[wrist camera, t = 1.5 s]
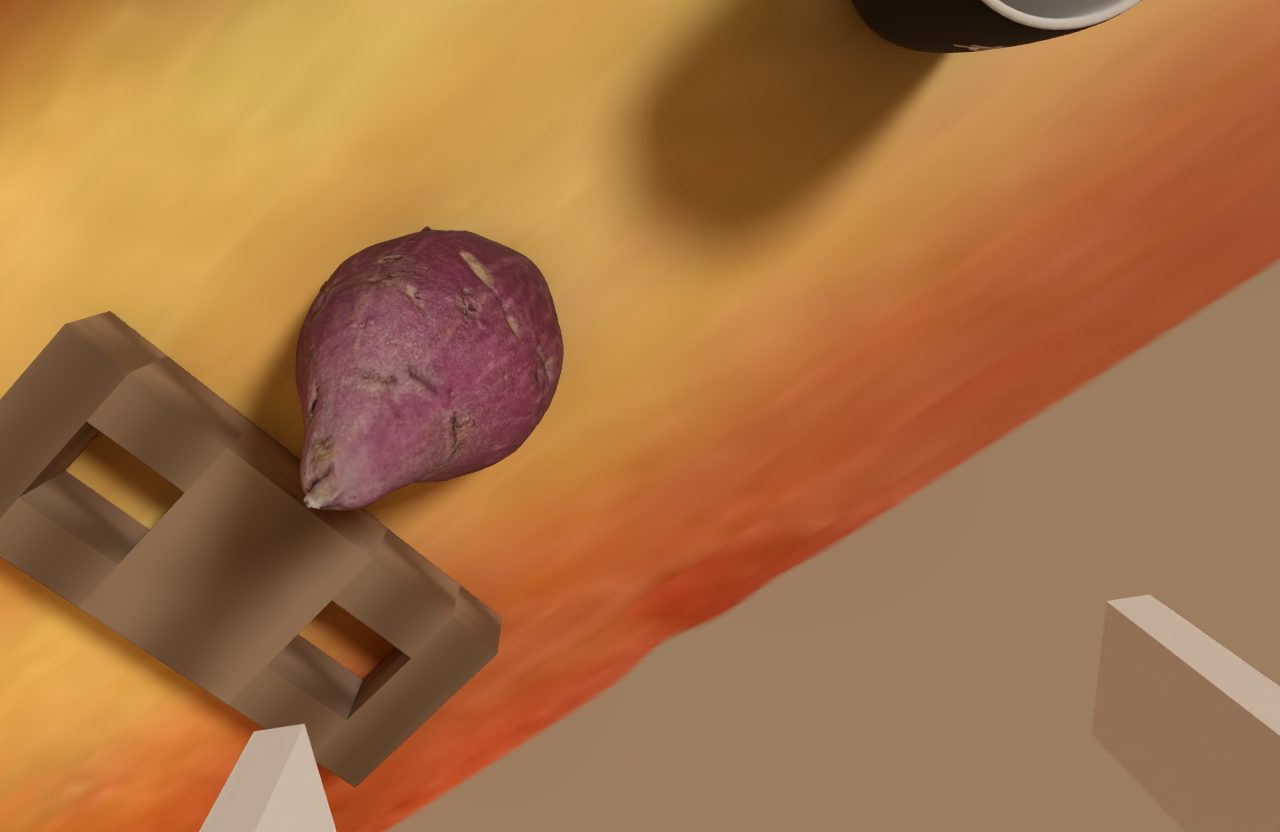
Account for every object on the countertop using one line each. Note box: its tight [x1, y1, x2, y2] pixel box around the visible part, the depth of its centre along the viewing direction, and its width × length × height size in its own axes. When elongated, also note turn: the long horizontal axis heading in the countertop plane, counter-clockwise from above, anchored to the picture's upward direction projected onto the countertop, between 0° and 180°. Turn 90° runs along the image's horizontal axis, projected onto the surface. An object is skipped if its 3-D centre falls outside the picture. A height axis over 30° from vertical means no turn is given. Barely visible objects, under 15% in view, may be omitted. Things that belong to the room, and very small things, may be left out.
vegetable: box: [295, 226, 563, 510], centre depth 28 cm, size 10×10×15 cm
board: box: [0, 311, 502, 787], centre depth 34 cm, size 22×10×3 cm, turn 44°
